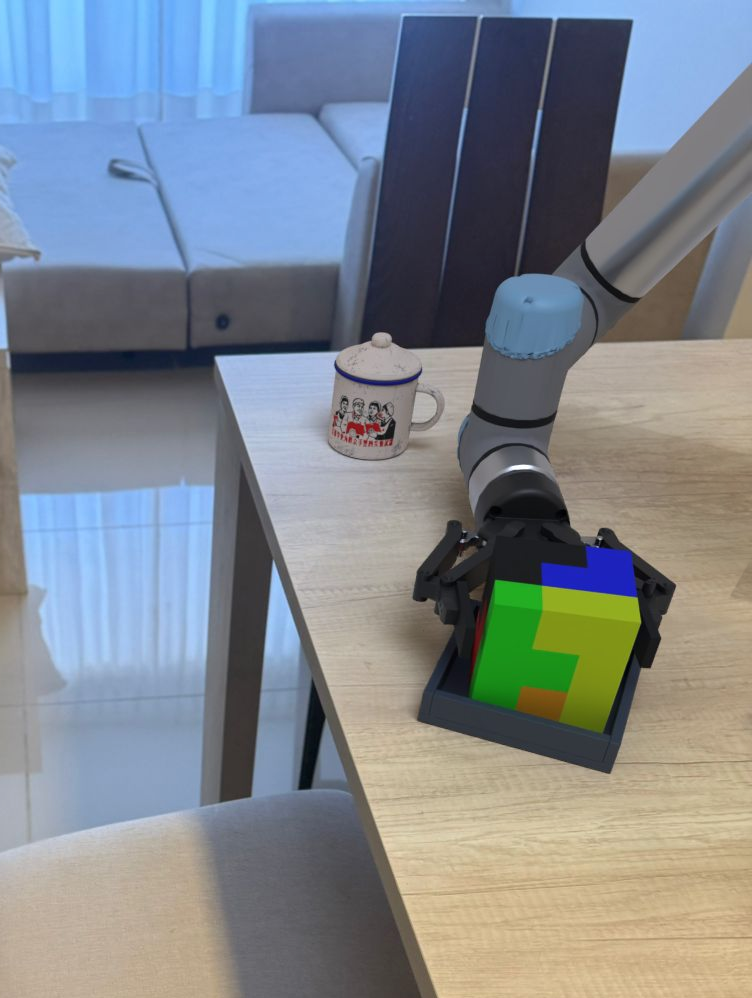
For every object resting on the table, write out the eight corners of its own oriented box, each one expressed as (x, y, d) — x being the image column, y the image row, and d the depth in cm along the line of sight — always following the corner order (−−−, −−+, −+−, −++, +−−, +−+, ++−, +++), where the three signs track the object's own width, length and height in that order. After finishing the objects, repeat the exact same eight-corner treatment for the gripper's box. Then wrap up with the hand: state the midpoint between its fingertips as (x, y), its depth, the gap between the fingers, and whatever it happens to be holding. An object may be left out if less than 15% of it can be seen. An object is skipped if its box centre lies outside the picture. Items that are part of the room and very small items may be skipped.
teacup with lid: (315, 453, 124) (327, 344, 116) (338, 419, 130) (350, 314, 122) (425, 473, 120) (445, 362, 112) (443, 438, 127) (464, 330, 119)
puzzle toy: (595, 659, 94) (630, 551, 88) (602, 734, 87) (641, 622, 80) (471, 642, 96) (496, 535, 89) (467, 714, 89) (494, 604, 82)
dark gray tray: (638, 669, 95) (648, 640, 93) (610, 774, 85) (620, 744, 83) (463, 625, 99) (469, 598, 97) (417, 720, 89) (422, 691, 88)
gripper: (649, 553, 103) (713, 698, 87) (369, 539, 104) (383, 679, 88) (675, 475, 97) (748, 614, 82) (381, 462, 99) (397, 595, 83)
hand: (558, 648), depth 85 cm, fingers open, 13 cm apart
